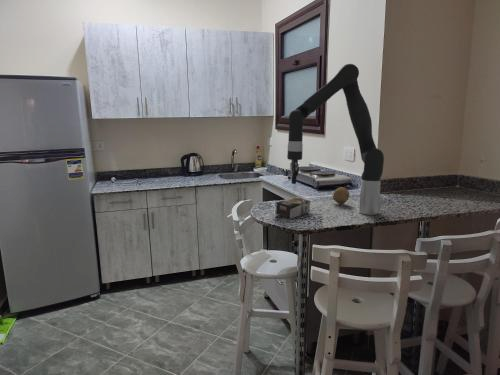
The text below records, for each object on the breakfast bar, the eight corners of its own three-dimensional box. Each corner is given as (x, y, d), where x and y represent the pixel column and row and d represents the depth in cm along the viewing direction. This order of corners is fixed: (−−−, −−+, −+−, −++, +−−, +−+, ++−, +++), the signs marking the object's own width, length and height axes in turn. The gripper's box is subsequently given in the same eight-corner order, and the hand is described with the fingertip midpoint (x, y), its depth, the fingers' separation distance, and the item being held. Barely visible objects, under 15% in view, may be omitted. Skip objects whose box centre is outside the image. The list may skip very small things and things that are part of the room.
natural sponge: (349, 206, 195) (350, 189, 193) (332, 206, 197) (333, 188, 195) (348, 203, 204) (349, 186, 202) (332, 202, 206) (333, 185, 204)
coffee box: (310, 200, 180) (291, 206, 169) (309, 212, 182) (289, 219, 171) (296, 195, 186) (276, 201, 175) (295, 207, 188) (275, 214, 177)
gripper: (304, 151, 175) (303, 186, 178) (299, 149, 188) (298, 181, 191) (289, 151, 174) (288, 186, 178) (285, 148, 187) (284, 181, 191)
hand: (293, 183), depth 184 cm, fingers closed
